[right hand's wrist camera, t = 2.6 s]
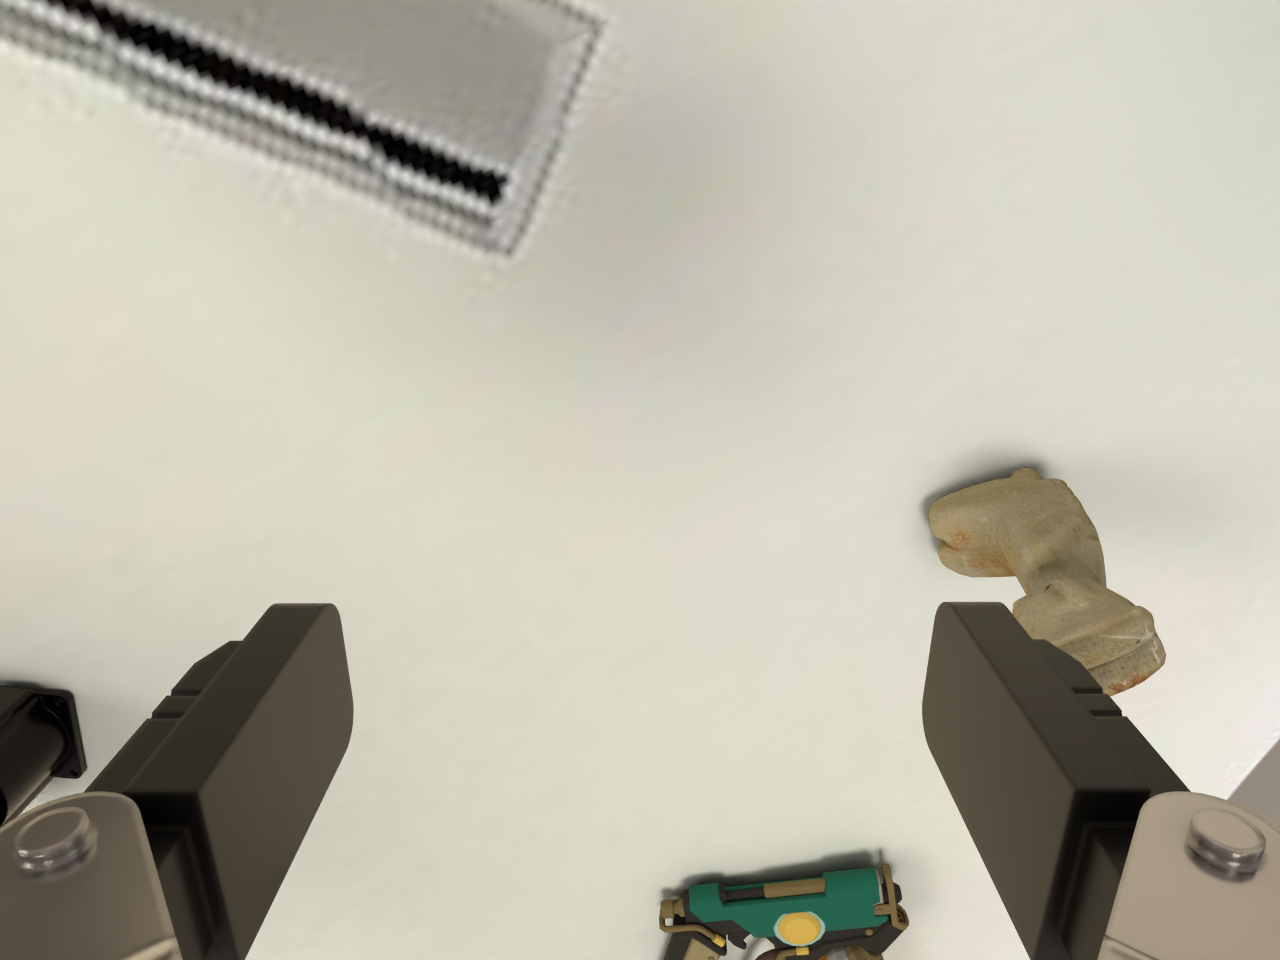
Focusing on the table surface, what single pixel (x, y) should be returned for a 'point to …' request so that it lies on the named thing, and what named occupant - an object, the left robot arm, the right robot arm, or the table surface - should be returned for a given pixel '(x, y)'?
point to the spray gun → (790, 917)
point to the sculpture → (1049, 572)
